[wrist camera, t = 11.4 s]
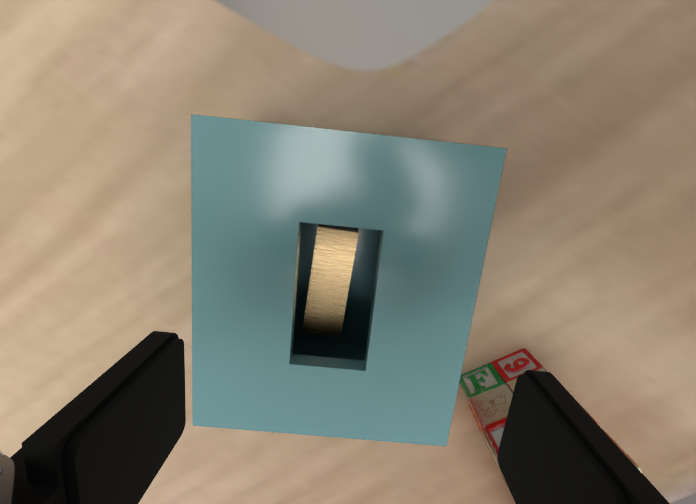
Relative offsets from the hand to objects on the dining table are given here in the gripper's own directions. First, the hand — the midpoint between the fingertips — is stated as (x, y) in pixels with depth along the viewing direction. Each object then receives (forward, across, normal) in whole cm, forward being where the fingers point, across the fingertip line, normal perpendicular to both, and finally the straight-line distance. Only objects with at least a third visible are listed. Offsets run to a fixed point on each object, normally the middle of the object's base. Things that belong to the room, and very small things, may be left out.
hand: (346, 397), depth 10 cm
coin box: (+18, +1, +1) cm, 18 cm away
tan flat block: (+15, +2, +5) cm, 16 cm away
